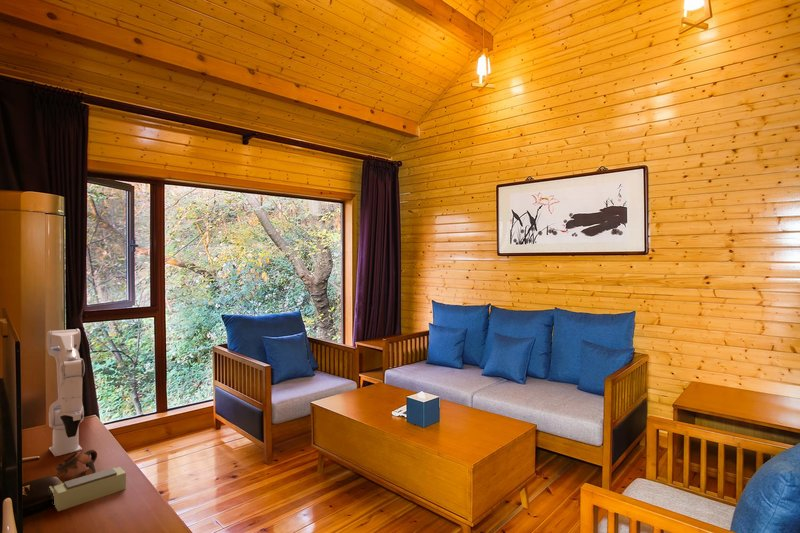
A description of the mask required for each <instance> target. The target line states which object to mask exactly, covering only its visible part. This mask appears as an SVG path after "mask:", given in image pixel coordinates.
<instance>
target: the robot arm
mask: <svg viewBox="0 0 800 533" xmlns="http://www.w3.org/2000/svg"><path fill="white" fill-rule="evenodd" d="M81 334H82V333H81V330H80V329H79V328H75V329H74V328H73V329H63V330H62V329H60V330H58V329H57V330H48V331H47V334H46V346H47V353H48V355H49V356H51V357H53V358H54V361H55V362H56V379H57V382H56V383H57V400H55V401H54V402H52V404H50V406H49V408H48V427H50V428H53V429H52V446H50V447H48V448H49V451H50V452H51V453H52V454H53V456H54V457H59V456H62V455H67V454H70V453H71V454H72V453H76V452H79V451H82V450H83V448H82V447H81V445H80V444H79V439H80V438H79V431H80V430H79V427H80V423H82V422H83V421H84V418H85V410H84V405H83V377H84V375H85V370H86V368H85V367H86V366H85V361H84V359H83V358H81V357H80V352H79V350H80V344H81V339H82V338H81Z"/></svg>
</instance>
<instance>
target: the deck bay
mask: <svg viewBox="0 0 800 533" xmlns="http://www.w3.org/2000/svg"><path fill="white" fill-rule="evenodd" d="M49 488H50V490H51V491H52V493H53V496H54V504H53V506H54V505H55V506H54V508H55V509H56V510H57V512H61V511H64V510H67V509H70V508H72V507H76V506H79V505H81V504H85V503H88V502H91V501H94V500H97V499H101V498H103V497H107V496H109V495H112V494H116V493H118V492H121V491H125V490H127V472H126V471H125V470H124V469H123V468H122V467H120V466H118V467H110V468H107V469H104V470H100V471H97V472H95V473H93V474H90V475H83V476H81V477H80V476H79V477H77V478H72V479H69V480H66V481H63V483H60V484H57V485H53V486H52V485H49V487H48V489H49Z"/></svg>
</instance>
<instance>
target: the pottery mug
mask: <svg viewBox="0 0 800 533" xmlns="http://www.w3.org/2000/svg"><path fill="white" fill-rule="evenodd" d="M97 457H98V453H97V451H96V450H95V449H89V450H87V451H86V452H84V453H82V452H81V450H79V451H75V452H73V454H72V453H71V454H70V455H69V456H67V457H66V458H64V460H63V462H64V463H62V462H60V463H58V465H57V466H56V467H55V469H56V471H57V473H56V474H57V476H61V475H64V476H66V475H67V473H68V471H69V470H71V469H72V470H75V469H78V462H80V463H81V464H83V465H85V466H86V468H87V470H86V471H85V472H84V474H85V475H84V476H86V475H90V474H93V473H96V471H97V470H96V468H95V462H96V460H97Z"/></svg>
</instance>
